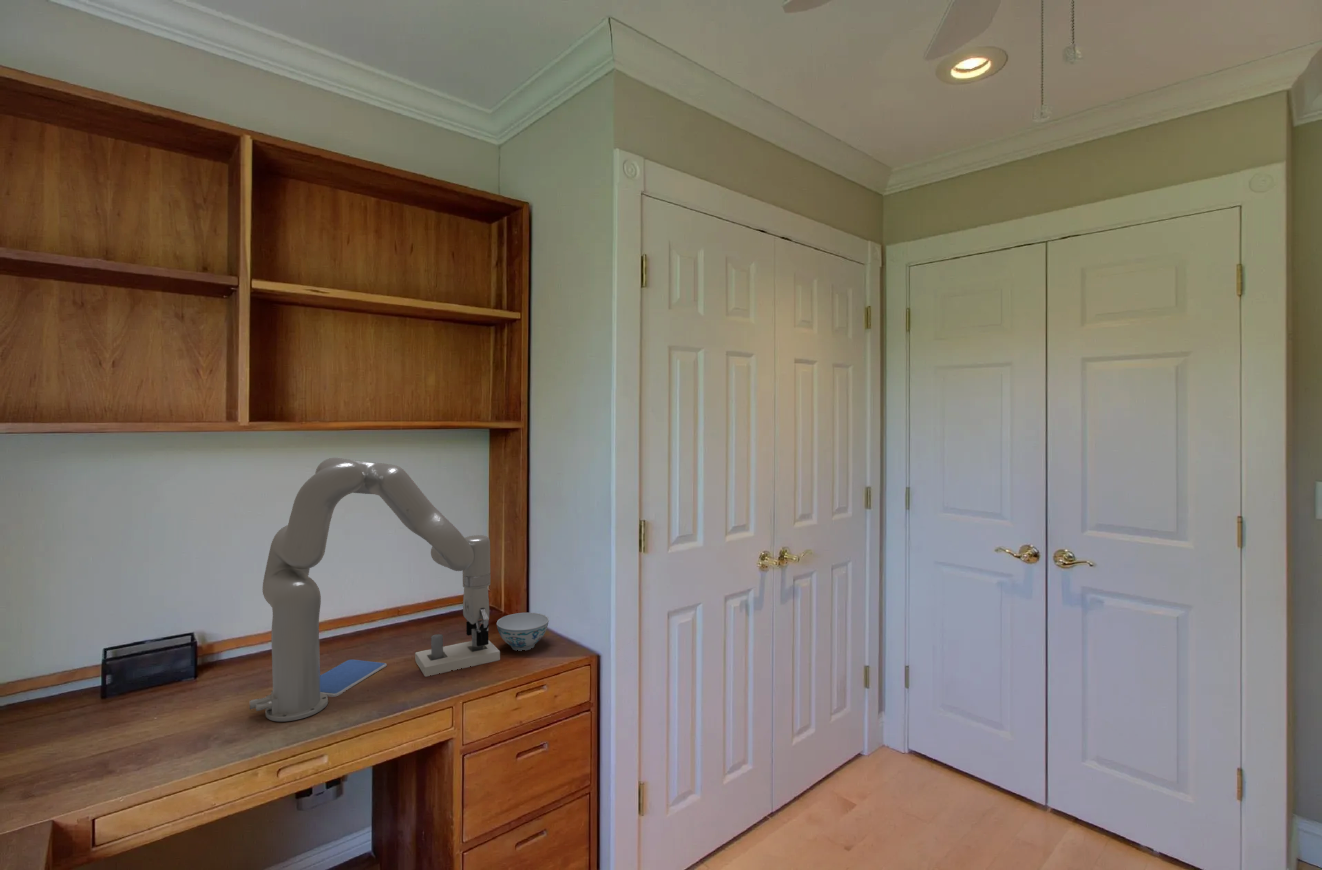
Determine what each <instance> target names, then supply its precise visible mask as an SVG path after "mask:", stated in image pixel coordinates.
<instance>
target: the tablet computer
mask: <svg viewBox="0 0 1322 870" xmlns="http://www.w3.org/2000/svg"><path fill="white" fill-rule="evenodd" d="M387 666H388V665H387V663H385V662H379V661H369V660H360V659H347V660H346V661H344V662H342V663H340V664H339V665H336V666H334V667H333V668H331V669H329V670H327V671H326V672H323V673H322V674H320V693H323V694H325V695H326V696H327V697H331V698H335V697H338V696H340V695H342V694H344V693H345V692H347V691H348V690H350V689H351V688H353V687H354V686H356V685H358V684H359V683H361V682H362V681H364V680H365V679H367V678H369V677H371V676H372V675H374V674H375V673H377V672H379V671H380V670H382V669H384V668H386V667H387ZM346 690H347V691H346ZM343 692H344V693H343Z"/></svg>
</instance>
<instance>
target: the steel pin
mask: <svg viewBox="0 0 1322 870" xmlns="http://www.w3.org/2000/svg"><path fill="white" fill-rule="evenodd" d="M476 632H478V630H477V627H474V628H472V635H471V641H472V652H474V651H479V650H483V646H477V643H476Z"/></svg>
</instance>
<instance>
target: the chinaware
mask: <svg viewBox="0 0 1322 870" xmlns="http://www.w3.org/2000/svg"><path fill="white" fill-rule="evenodd" d="M496 621H497V622H496V627H497V631H498V634H499V636H500V638H501V639H502V640H503V642H505V643H506V644H508V645H509V646H510V647H511V649H512V650H514V651H517V650H518V652H519V651H520V652H523V651H522V650H525V651H529V650H532V649H533V648H535V646H536V645H535V644H537V643H538V642H539V641H541V640H542V638H543V637H544V636H545V634H546V632H547V629H548V626H549V621H550V620H549V617H548V616H547V615H545V614H543V613H537V612H518V613H517V612H516V613H513V614H508V615H504V616H502V617H501V618H499V619H498V620H496ZM531 648H532V649H531Z"/></svg>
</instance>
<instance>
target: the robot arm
mask: <svg viewBox="0 0 1322 870" xmlns="http://www.w3.org/2000/svg"><path fill="white" fill-rule="evenodd" d="M352 493H353V494H364V495H375V496H379V497H380V498H381V499H382V500H383V502H384V503H385V504H386V505H387V506H388V507H389V509H390V510H391V511H392V512H393V513H394V514H395V515H396V517H397V518H398V519H399V520H400V521H401V523H402V524H403V525H404V527H406V528H407V529H408V530H409V531H410V532H412V533H413V534H415V535H417V536H419V537H420V538H422V539H423V540H424V541H426V542H427V543H428V544H429V545H430V546H432V547H431V548H430V556H431V558H432V560H433V561H434V562H435V563H436V564H438V565H440V566H442V567H445V568H448V569H450V570H452V571H454V572H462V587H463V598H462V599H463V601H462V602H463V603H462V604H463V605H462V615H463V617H464V618H465V619H466V622H465V625H466V626H465V627H466V628H465V629H466V631H465V632H466V636H472V628H474V627H477V630H478V632H476V643H477V646H483V645H488V643H489V641H490V639H489V638H490V637H489V621H490V620H489V619H490V600H489V586H491V541H490V538H489V537H488V536H486V535H484V534H483V535H482V534H480V535H479V534H476V535H474V534H473V535H469V536H466V537H464V535H463V534H462V533H461V532H460V531H459V529H458V528H456V526H455V525H454V524H453V523H452V522H451V521H450V520H449V519H448V518H447V517H445V516H444V515H443V513H442V512H441V511H440V510H439V509H437V507H435V506H434V504H432V502H431V501H430V500H429V499H428V498H427V496H426V495H425V494H424V492H422V490H421V488H420V487H418V485H417V484H416V482H414V480H413V479H412V478H411V476H410V475H409V473H407V472H406V470H404V469H403V468H402V467H400V466H398V465H395V464H389V463H384V462H383V463H382V462H371V461H362V460H356V459H355V460H354V459H347V458H340V457H330V458H327V459H325V460H323V461H322V462H320V463H319V464H318V466H317V468H316V470H315V473H314V474H313V475H312V476H311V477H309V479H307V480H306V481H305V482H304V484H303V485H302V486H301V487H300V488H299V490H298V492H297V494H296V496H295V498H294V501H293V503H292V508H291V512H290V514H289V518H288V524H287V525H284V526H283V527H281V529H279V530H277V532H276V534H275V535H274V537H273V539H272V540H271V543H270V547H269V552H268V555H267V556H268V557H267V561H266V566H265V571H264V575H263V576H264V577H263V582H262V595H263V597H264V599H265V601H266V603H268V605H269V606H270V607H271V609H272V619H271V620H272V622H271V665H272V667H271V668H272V690H270V694H268V695H265V697H262V698H256V699H249V710H252V709H255V711H256V712H259V711H263V710H265V718H267V719H268V720H270V721H273V722H291V721H297V720H302V719H305V718H308V717H311V716H313V715H315V714H318V713H319V712H321V711H323V710H324V709H325V708H326V707H327V706H328V703H329V698H328V697H329V696H326V695H325V694H323V693H320V675H321V667H320V665H321V664H320V663H321V659H320V657H321V655H320V613H321V612H320V611H321V606H322V605H321V604H322V597H321V590H320V588H319V585H318V584H317V582H315V580H313V579H312V578H311V577H310V576H309V575H310V570H311V569H312V568H314V567H316V566H317V565H318V564H319V563H320V562H321V561H322V560H323V558H324V555H325V552H326V547H327V541H328V537H329V531H330V525H331V521H332V518H333V514H334V511H335V508H336V506H337V505H338V503H339V502H340V501H341V500H342V499H344V497H346V496H348V495H351V494H352Z"/></svg>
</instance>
